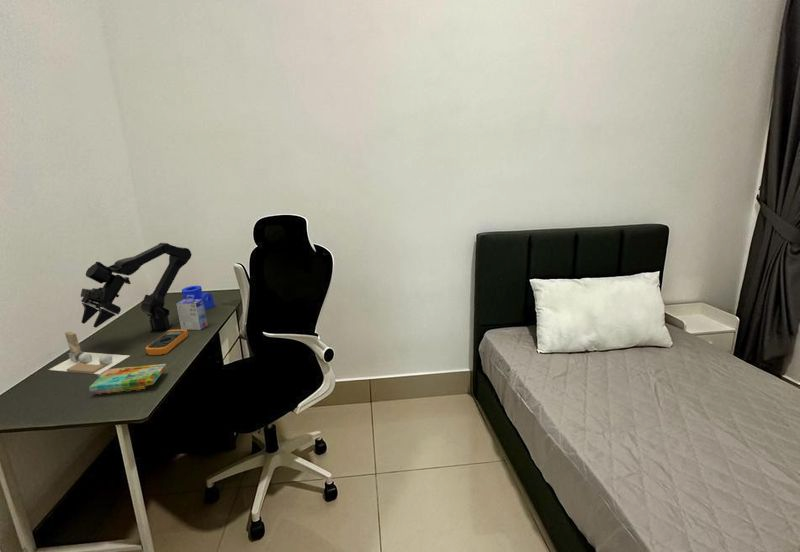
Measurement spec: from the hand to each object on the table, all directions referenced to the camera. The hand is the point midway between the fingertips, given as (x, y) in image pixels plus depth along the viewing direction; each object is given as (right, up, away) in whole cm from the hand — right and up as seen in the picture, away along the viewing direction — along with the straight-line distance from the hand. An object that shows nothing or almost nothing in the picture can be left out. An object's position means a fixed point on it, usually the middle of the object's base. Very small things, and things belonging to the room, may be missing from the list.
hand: (88, 325), depth 178 cm
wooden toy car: (-3, -13, -2) cm, 13 cm away
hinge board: (+4, -14, -4) cm, 16 cm away
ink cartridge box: (+30, -4, +25) cm, 39 cm away
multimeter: (+26, -9, +9) cm, 29 cm away
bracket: (+20, +4, +53) cm, 57 cm away
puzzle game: (+28, -18, -20) cm, 39 cm away
